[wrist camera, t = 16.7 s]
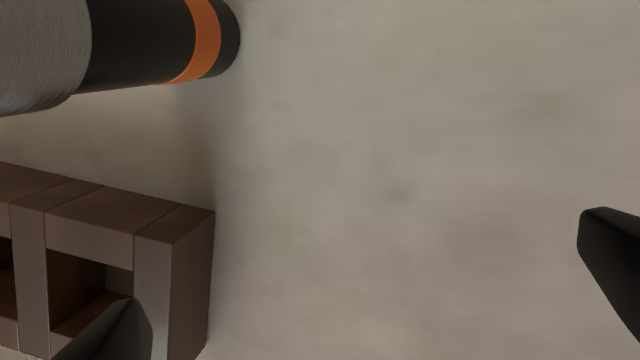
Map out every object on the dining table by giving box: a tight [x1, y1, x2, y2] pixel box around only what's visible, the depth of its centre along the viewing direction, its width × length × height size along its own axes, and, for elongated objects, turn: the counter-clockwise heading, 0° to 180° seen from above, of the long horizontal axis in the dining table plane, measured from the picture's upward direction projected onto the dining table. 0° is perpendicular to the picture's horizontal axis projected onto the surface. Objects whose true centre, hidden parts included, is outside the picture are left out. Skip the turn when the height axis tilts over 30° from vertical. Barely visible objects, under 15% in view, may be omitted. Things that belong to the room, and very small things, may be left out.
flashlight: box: [0, 0, 240, 117], centre depth 14 cm, size 4×4×13 cm
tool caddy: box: [0, 162, 215, 360], centre depth 23 cm, size 14×8×4 cm, turn 82°
